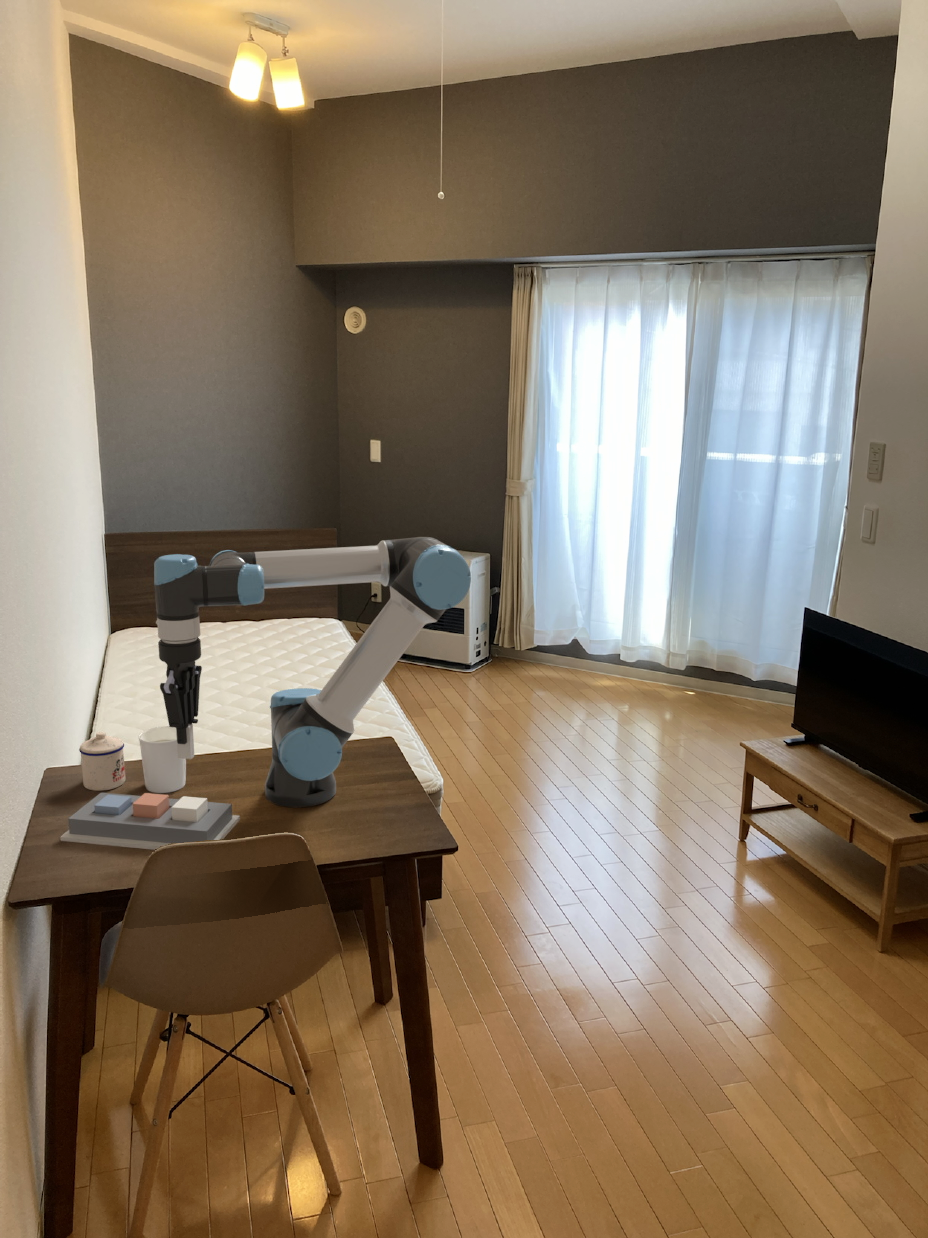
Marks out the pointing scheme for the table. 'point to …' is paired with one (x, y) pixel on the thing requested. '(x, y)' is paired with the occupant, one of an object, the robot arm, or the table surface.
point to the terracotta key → (151, 805)
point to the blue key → (113, 805)
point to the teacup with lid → (102, 762)
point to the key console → (146, 826)
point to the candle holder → (162, 760)
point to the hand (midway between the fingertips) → (186, 757)
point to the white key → (190, 809)
